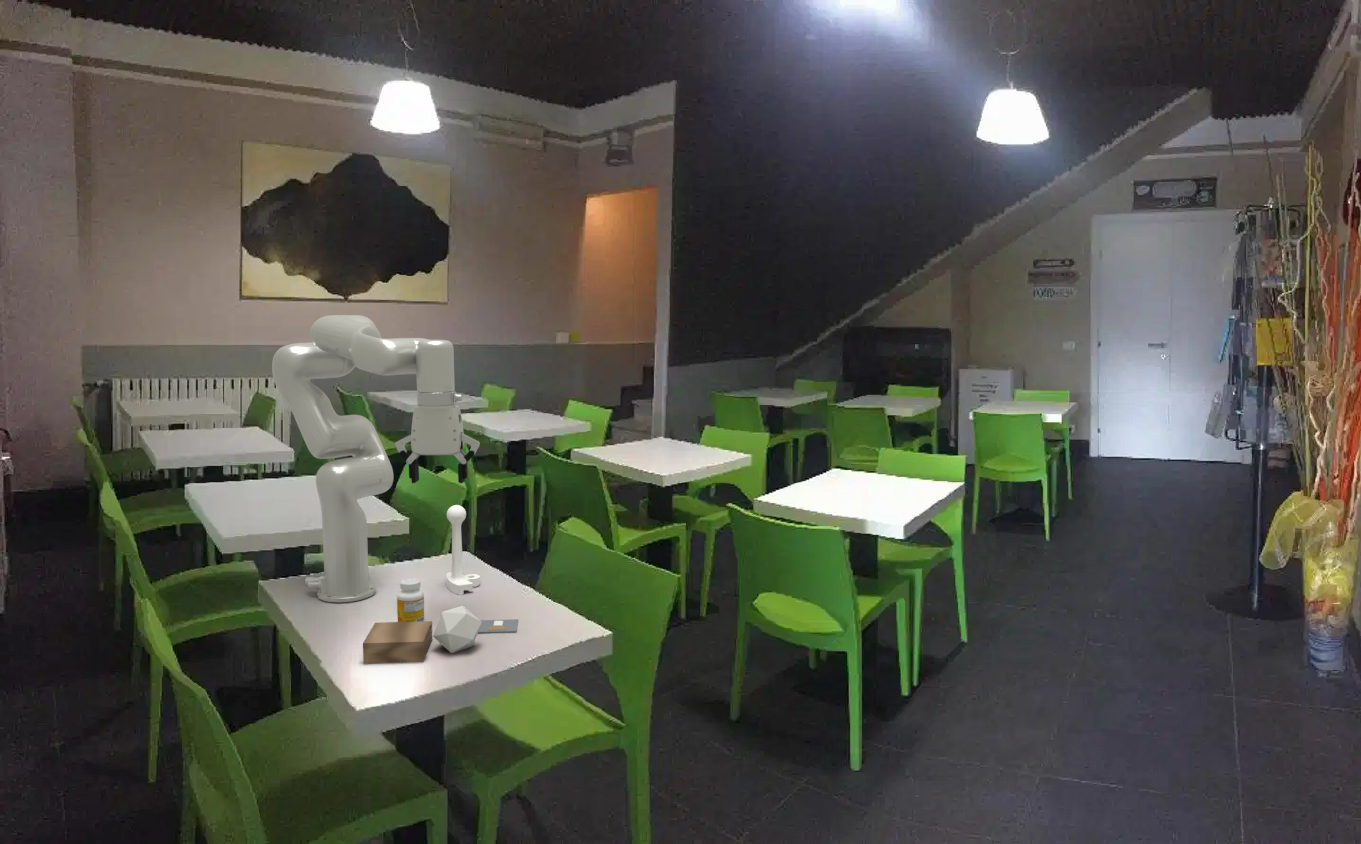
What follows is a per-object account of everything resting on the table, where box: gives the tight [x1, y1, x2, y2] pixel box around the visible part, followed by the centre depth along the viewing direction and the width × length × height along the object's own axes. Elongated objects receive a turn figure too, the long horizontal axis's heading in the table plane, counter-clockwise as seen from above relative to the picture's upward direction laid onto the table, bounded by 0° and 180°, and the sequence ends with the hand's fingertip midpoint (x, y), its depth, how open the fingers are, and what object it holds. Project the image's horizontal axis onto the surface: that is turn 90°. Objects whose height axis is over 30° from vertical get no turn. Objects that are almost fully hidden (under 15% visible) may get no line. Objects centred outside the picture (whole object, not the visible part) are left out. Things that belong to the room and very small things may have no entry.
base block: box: [362, 620, 433, 665], centre depth 174 cm, size 11×11×4 cm
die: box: [432, 605, 482, 654], centre depth 177 cm, size 8×9×10 cm
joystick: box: [445, 504, 481, 596], centre depth 214 cm, size 11×8×20 cm
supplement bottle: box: [396, 578, 426, 622], centre depth 188 cm, size 5×5×10 cm
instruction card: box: [477, 618, 519, 635], centre depth 189 cm, size 8×7×1 cm
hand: (438, 481), depth 187 cm, fingers open, 9 cm apart
